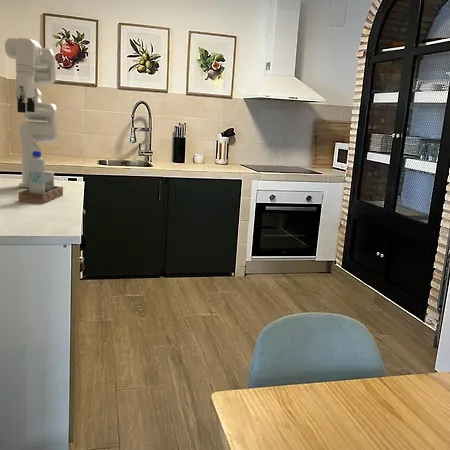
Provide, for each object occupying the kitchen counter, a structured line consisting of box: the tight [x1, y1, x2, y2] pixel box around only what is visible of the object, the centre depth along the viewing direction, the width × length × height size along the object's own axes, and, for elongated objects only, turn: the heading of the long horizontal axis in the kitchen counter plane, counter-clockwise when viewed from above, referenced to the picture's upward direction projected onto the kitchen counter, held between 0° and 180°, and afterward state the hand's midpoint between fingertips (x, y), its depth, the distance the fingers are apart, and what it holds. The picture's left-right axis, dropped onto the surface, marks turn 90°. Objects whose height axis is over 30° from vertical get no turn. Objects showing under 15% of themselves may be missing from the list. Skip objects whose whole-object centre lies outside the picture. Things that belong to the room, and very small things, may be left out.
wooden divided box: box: [18, 170, 64, 204], centre depth 220 cm, size 22×11×11 cm, turn 178°
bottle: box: [28, 151, 46, 193], centre depth 214 cm, size 7×7×20 cm
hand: (26, 112), depth 213 cm, fingers open, 9 cm apart
